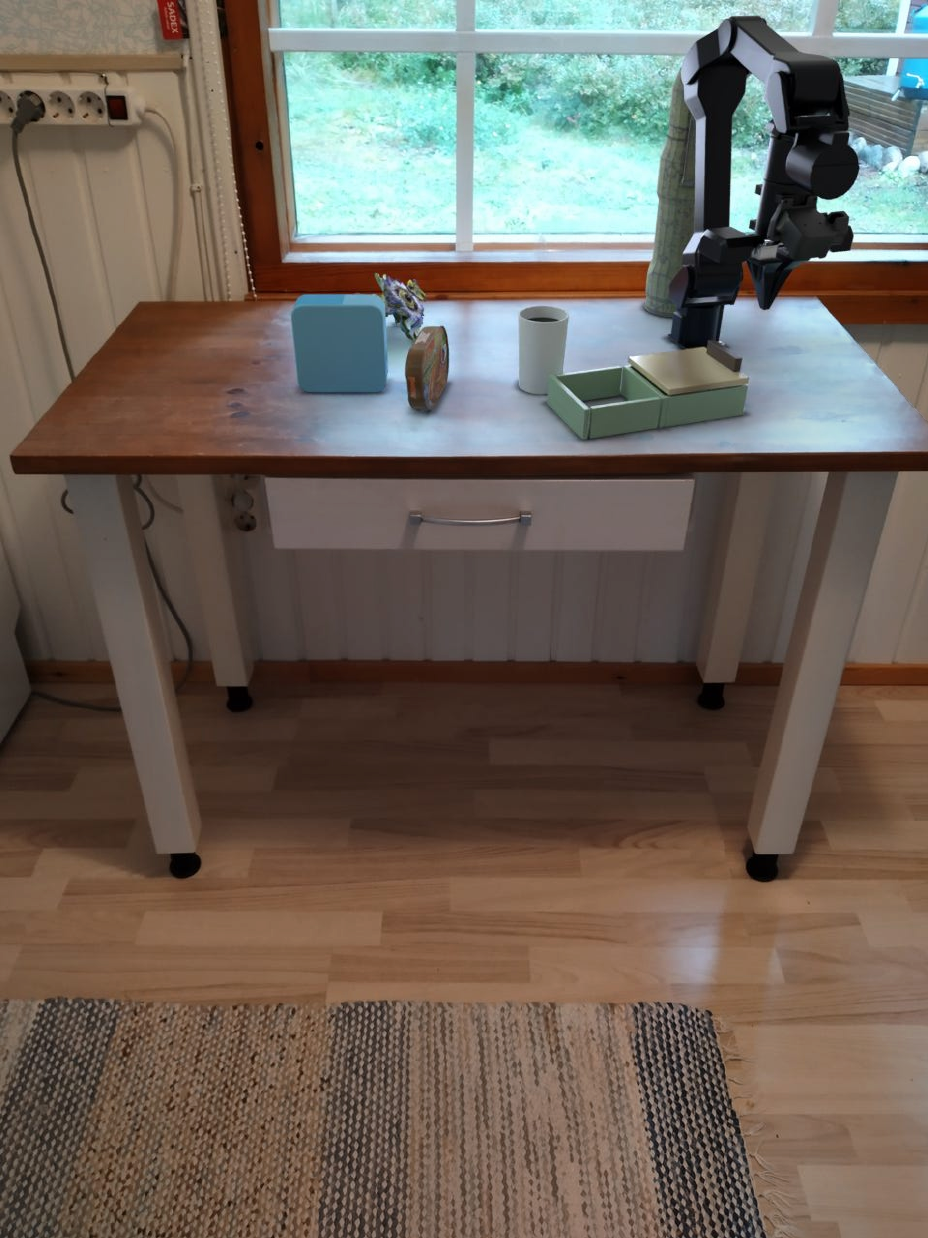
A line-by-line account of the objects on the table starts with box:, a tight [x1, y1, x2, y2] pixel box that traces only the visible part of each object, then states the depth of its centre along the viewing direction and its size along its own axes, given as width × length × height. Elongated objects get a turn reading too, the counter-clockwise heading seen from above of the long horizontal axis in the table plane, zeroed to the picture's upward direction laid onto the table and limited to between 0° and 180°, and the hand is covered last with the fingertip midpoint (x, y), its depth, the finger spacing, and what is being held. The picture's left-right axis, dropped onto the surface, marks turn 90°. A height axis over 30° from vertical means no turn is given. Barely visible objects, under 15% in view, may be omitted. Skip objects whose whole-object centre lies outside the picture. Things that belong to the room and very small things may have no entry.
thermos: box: [644, 66, 696, 318], centre depth 151 cm, size 9×12×35 cm
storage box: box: [546, 364, 749, 441], centre depth 129 cm, size 23×11×4 cm, turn 109°
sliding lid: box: [627, 340, 750, 395], centre depth 128 cm, size 11×11×3 cm
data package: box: [290, 293, 389, 393], centre depth 132 cm, size 12×4×12 cm, turn 90°
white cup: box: [517, 305, 570, 395], centre depth 133 cm, size 7×7×10 cm
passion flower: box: [354, 272, 428, 342], centre depth 149 cm, size 11×11×12 cm
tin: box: [404, 325, 450, 411], centre depth 131 cm, size 15×3×8 cm, turn 168°
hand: (764, 308), depth 127 cm, fingers closed
